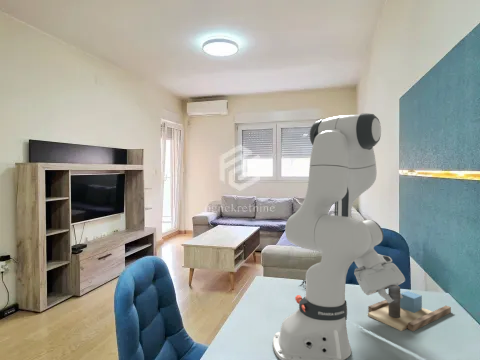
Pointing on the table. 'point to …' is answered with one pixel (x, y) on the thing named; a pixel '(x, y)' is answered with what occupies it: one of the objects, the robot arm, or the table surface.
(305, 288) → the creature
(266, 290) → the table surface
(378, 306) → the track
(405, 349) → the table surface
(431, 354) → the table surface
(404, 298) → the cube
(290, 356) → the robot arm
